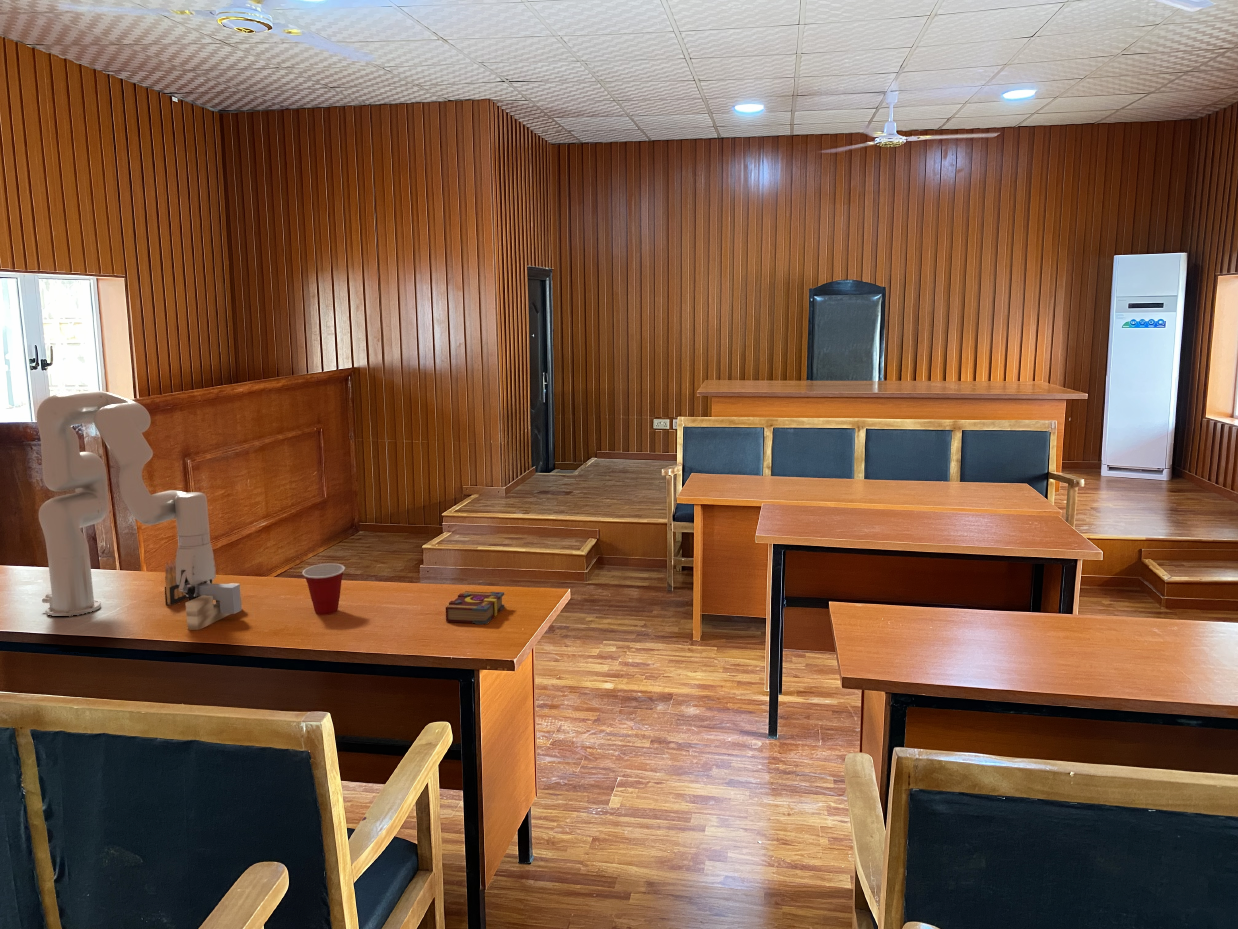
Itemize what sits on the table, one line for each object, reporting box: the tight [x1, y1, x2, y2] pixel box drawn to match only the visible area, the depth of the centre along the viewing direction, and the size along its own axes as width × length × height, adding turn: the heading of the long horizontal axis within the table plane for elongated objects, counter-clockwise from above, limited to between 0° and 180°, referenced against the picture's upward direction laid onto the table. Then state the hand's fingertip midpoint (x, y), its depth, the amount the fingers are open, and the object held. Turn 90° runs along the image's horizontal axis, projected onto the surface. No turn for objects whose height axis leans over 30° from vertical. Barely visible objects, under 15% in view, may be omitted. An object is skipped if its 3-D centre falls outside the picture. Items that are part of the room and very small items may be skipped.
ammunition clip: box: [164, 558, 188, 606], centre depth 246 cm, size 11×2×12 cm, turn 171°
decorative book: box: [445, 590, 505, 625], centre depth 230 cm, size 11×16×5 cm
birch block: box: [185, 582, 243, 631], centre depth 228 cm, size 18×3×7 cm, turn 169°
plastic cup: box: [301, 562, 346, 616], centre depth 233 cm, size 11×11×12 cm
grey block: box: [191, 582, 242, 615], centre depth 228 cm, size 13×3×7 cm, turn 79°
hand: (199, 607), depth 229 cm, fingers closed on grey block, 3 cm apart
